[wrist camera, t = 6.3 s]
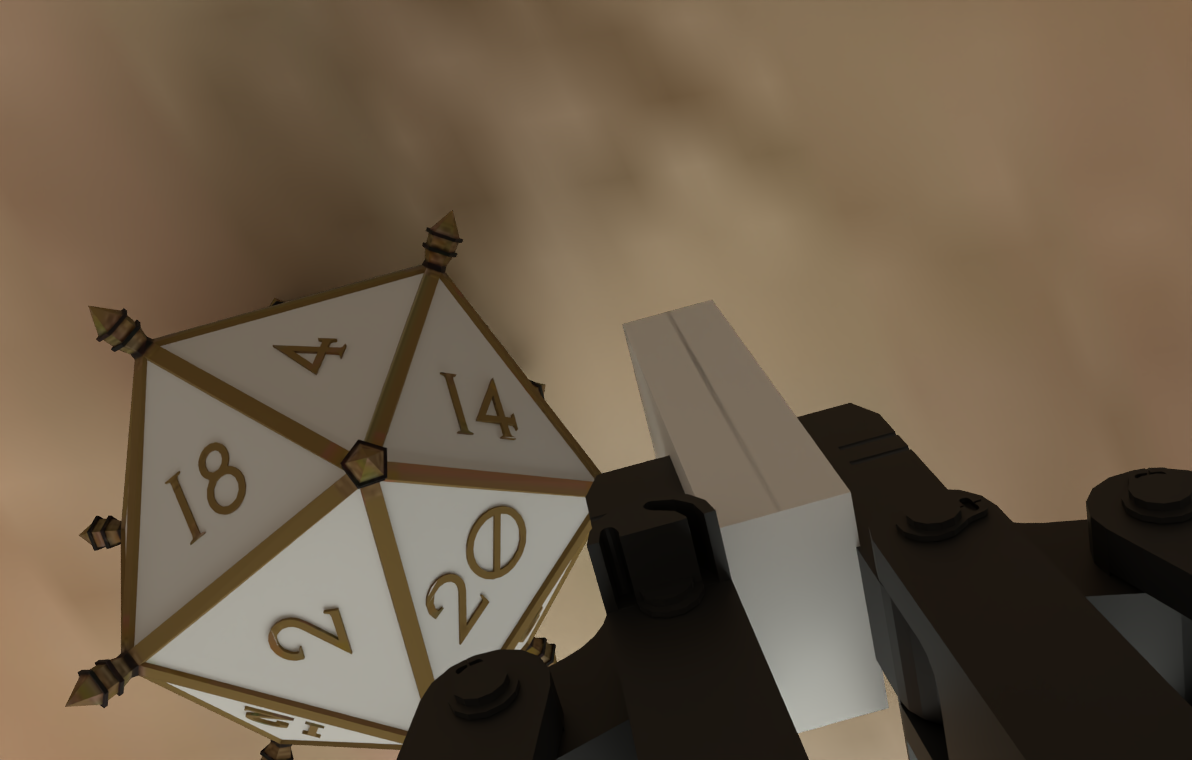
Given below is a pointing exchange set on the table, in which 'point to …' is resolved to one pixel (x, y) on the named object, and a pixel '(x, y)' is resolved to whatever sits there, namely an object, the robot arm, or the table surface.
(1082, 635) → the robot arm
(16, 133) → the table surface
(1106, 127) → the table surface
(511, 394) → the game die
